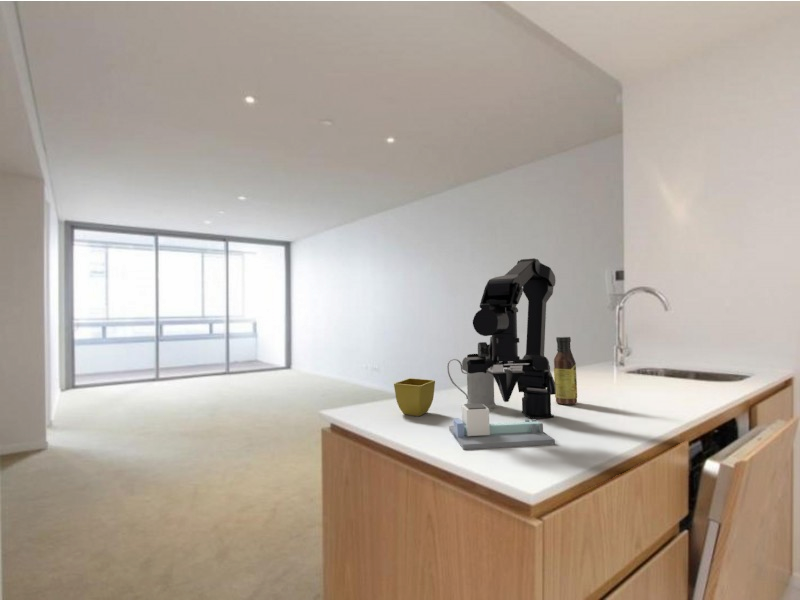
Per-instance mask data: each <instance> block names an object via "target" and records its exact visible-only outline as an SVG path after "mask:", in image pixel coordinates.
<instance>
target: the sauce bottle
mask: <svg viewBox="0 0 800 600" xmlns="http://www.w3.org/2000/svg"><path fill="white" fill-rule="evenodd" d="M555 338H556V339H555V340H556V343H557V344H556V345H557V346H556V347H557V348H556V351H557V352H556V354H555V356H554V359H553V376H554V377H553V379H554V382H555V384H556V394H554V398H555V402H556V403H557V404H558V405H566V406H567V405H569V406H570V405H576V404H577V403H578V387H577V386H578V385H577V384H578V383H577V382H578V381H577V380H578V379H577V366H576V365H577V364H576V363H577V362H576V360H575V358H574V355H573V353H572V349H571V341H572V340H571V336H556V337H555Z"/></svg>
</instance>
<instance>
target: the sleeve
mask: <svg viewBox="0 0 800 600" xmlns="http://www.w3.org/2000/svg"><path fill="white" fill-rule="evenodd" d="M461 421H462V422H463V423H464V425H465V424H466V435H467V436H479V435H490V426H489V424H490V409H488V408H487V407H486V406H484V405H483V404H481V403H477V404H467V403H464V404H462V405H461Z"/></svg>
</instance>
